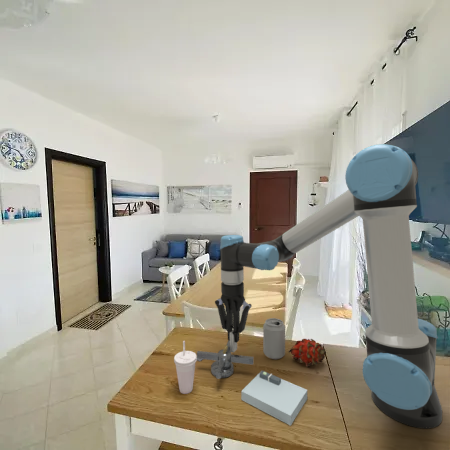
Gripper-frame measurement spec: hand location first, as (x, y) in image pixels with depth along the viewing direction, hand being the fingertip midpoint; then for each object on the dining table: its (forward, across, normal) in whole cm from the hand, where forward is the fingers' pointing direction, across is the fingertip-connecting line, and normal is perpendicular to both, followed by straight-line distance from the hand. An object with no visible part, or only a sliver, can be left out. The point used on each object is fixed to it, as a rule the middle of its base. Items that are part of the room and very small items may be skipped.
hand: (233, 350), depth 90 cm
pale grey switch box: (+4, -18, +11) cm, 21 cm away
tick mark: (+3, +10, +5) cm, 12 cm away
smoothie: (+4, +6, +19) cm, 20 cm away
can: (+4, -11, -10) cm, 15 cm away
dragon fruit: (+4, -22, -10) cm, 25 cm away
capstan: (+3, 0, +7) cm, 8 cm away
